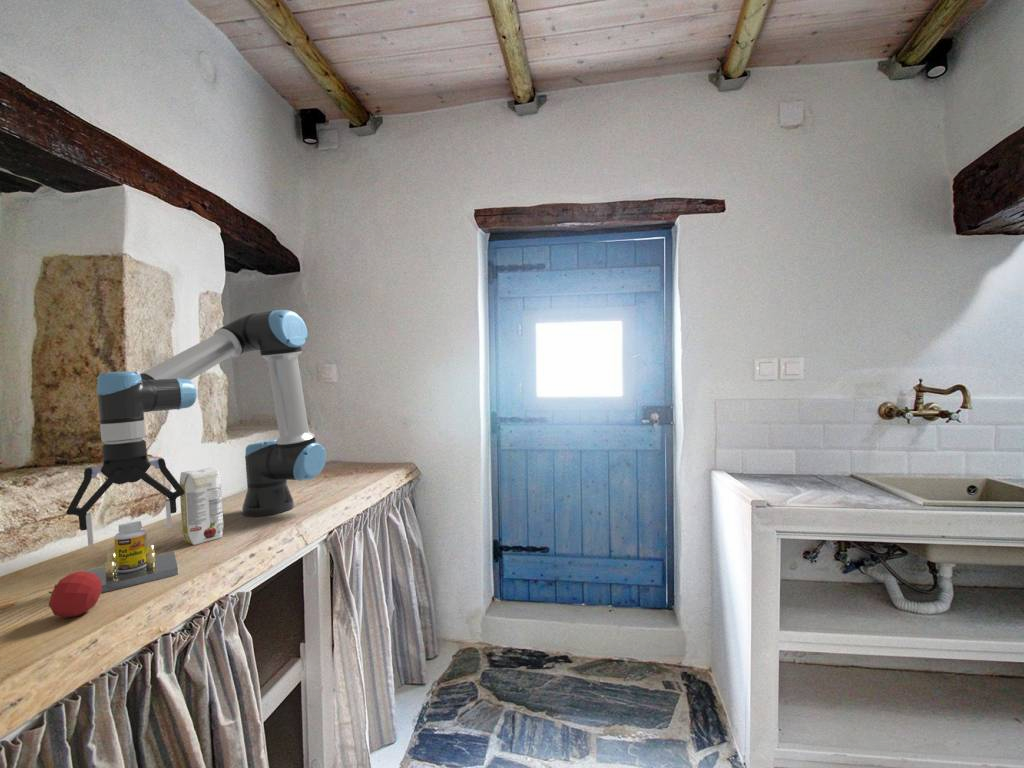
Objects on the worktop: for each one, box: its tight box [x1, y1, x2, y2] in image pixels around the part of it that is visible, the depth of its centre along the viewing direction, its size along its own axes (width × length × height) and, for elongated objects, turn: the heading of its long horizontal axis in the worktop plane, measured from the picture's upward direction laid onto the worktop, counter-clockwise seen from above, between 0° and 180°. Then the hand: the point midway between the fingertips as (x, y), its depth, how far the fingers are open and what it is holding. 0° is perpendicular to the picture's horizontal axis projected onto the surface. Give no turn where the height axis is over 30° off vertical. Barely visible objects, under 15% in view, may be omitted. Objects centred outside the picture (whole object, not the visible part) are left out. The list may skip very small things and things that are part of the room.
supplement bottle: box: [114, 520, 148, 573], centre depth 104 cm, size 6×6×10 cm
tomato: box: [48, 570, 102, 619], centre depth 87 cm, size 8×8×8 cm
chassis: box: [85, 544, 179, 594], centre depth 104 cm, size 16×14×5 cm
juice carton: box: [178, 467, 224, 546], centre depth 127 cm, size 8×9×19 cm
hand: (132, 535), depth 104 cm, fingers open, 13 cm apart
